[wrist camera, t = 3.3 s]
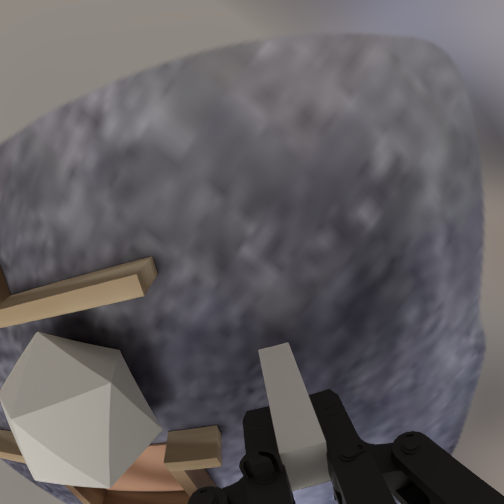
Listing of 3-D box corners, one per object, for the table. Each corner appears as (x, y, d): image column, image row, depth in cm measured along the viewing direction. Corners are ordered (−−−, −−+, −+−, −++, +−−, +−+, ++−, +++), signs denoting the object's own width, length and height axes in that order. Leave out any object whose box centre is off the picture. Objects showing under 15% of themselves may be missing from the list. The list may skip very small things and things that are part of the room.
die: (76, 420, 18) (133, 526, 12) (-23, 374, 12) (-4, 510, 5) (136, 345, 20) (218, 445, 14) (36, 277, 14) (71, 404, 7)
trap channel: (248, 487, 21) (251, 514, 18) (28, 482, 20) (20, 499, 17) (115, 106, 13) (92, 92, 10) (-102, 240, 13) (-122, 248, 10)
